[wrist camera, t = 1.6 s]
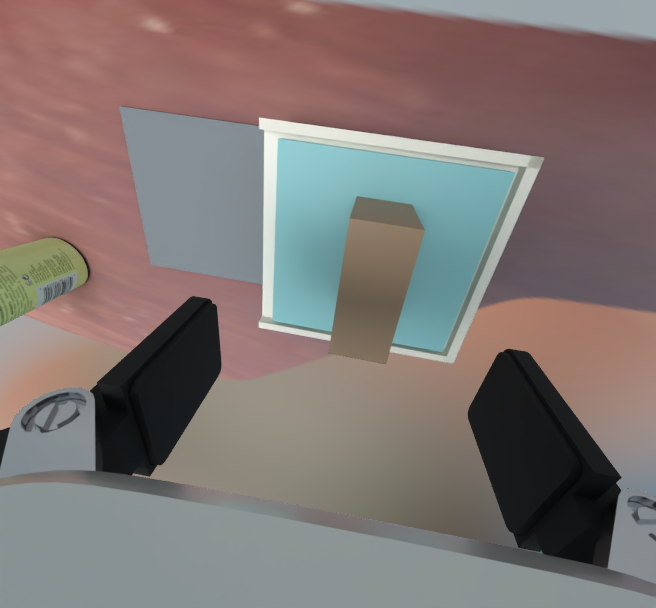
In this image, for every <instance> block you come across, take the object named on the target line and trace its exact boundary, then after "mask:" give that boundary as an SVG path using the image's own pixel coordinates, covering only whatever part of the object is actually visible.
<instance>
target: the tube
mask: <svg viewBox="0 0 656 608" xmlns="http://www.w3.org/2000/svg"><path fill="white" fill-rule="evenodd" d="M87 277H88V270H87V266H86V264H85V262H84V260H83V258H82V256H81V255H80V254H79V253H78V251H77V250H76V249H75V248H73V247H72V246H71V245H70V244H68V243H66V242H65V241H63V240H61V239H57V238H45V239H41V240H37V241H33V242H29V243H26V244H22V245H18V246H14V247H11V248H7V249H3V250H0V326H2V325H4V324H6V323H8V322H10V321H12V320H14V319H16V318H18V317H19V316H22V315H24V314H26V313H27V312H29V311H31V310H33V309H35V308H37V307H39V306H41V305H43V304H45V303H47V302H49V301H51V300H53V299H55V298H57V297H59V296H61V295H63V294H65V293H67V292H69V291H71V290H73V289H75V288H77V287H79V286H81V285H82V284H84V283H85V282H86V280H87Z"/></svg>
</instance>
